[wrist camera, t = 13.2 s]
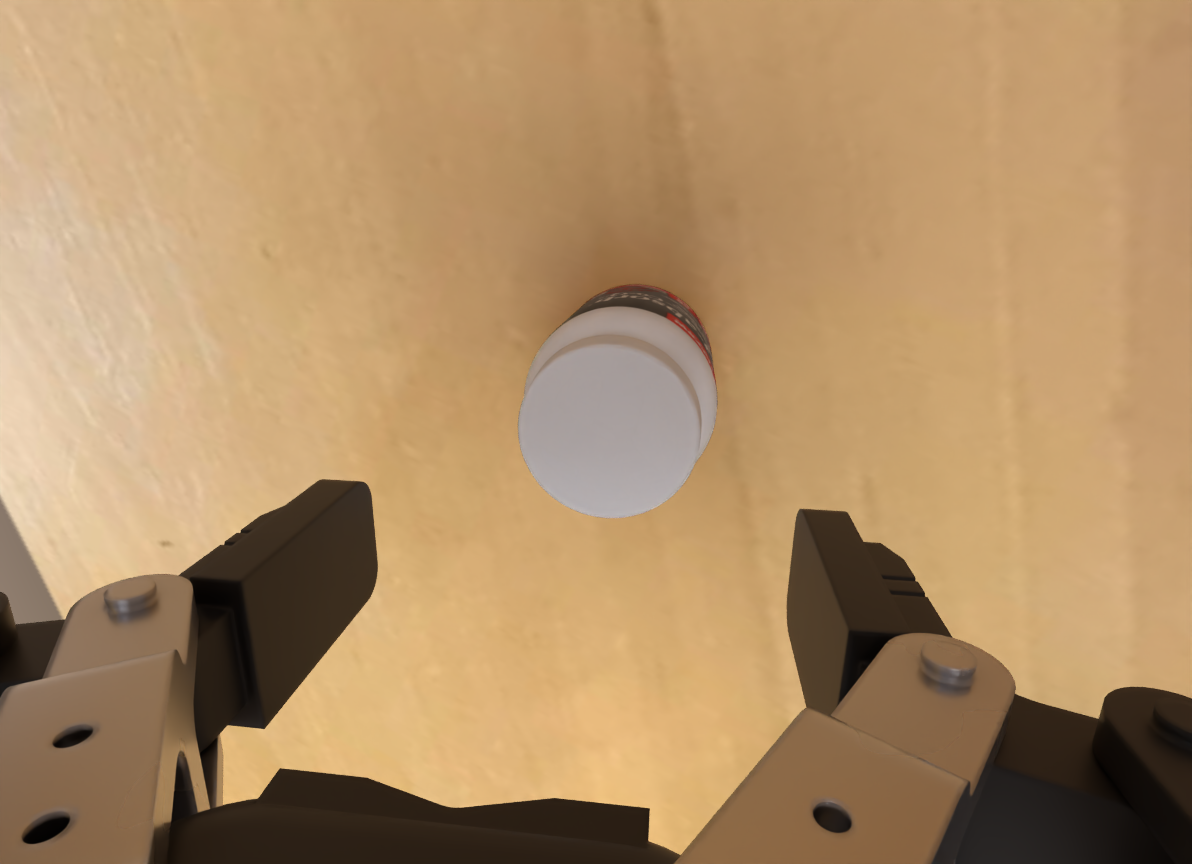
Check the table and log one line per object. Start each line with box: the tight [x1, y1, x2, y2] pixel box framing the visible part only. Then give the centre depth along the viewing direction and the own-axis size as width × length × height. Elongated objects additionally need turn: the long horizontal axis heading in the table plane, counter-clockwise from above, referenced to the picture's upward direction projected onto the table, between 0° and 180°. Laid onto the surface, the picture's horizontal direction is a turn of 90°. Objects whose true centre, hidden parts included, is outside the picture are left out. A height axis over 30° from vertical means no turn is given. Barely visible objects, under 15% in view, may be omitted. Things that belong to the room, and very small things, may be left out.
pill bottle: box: [518, 285, 717, 518], centre depth 22 cm, size 6×6×10 cm
